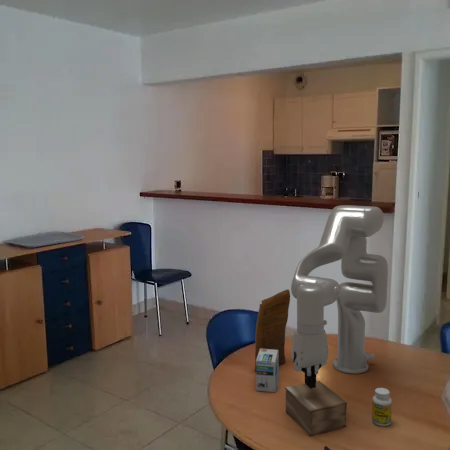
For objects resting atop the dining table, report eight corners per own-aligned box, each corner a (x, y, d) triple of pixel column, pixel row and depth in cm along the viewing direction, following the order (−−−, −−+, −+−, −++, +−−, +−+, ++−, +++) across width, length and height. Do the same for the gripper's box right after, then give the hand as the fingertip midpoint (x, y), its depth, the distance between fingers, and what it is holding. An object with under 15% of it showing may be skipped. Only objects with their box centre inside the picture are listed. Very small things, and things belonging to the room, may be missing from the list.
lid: (319, 382, 153) (319, 380, 153) (346, 403, 140) (346, 401, 140) (285, 389, 149) (285, 387, 148) (310, 411, 136) (310, 409, 135)
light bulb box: (276, 393, 161) (275, 362, 160) (255, 391, 163) (255, 360, 161) (279, 378, 172) (279, 349, 170) (260, 376, 173) (259, 347, 172)
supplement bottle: (391, 418, 145) (392, 387, 144) (391, 427, 140) (392, 396, 139) (372, 415, 147) (373, 385, 145) (371, 425, 142) (372, 394, 140)
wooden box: (319, 403, 154) (319, 382, 153) (346, 426, 141) (346, 403, 140) (285, 411, 150) (285, 390, 149) (310, 436, 137) (310, 412, 136)
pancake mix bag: (295, 361, 185) (296, 289, 181) (261, 377, 172) (260, 300, 168) (282, 356, 190) (282, 286, 186) (247, 371, 177) (246, 296, 173)
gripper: (325, 318, 147) (324, 375, 150) (281, 327, 141) (281, 385, 144) (339, 326, 140) (339, 386, 143) (294, 336, 134) (294, 397, 138)
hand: (310, 385), depth 144 cm, fingers closed
